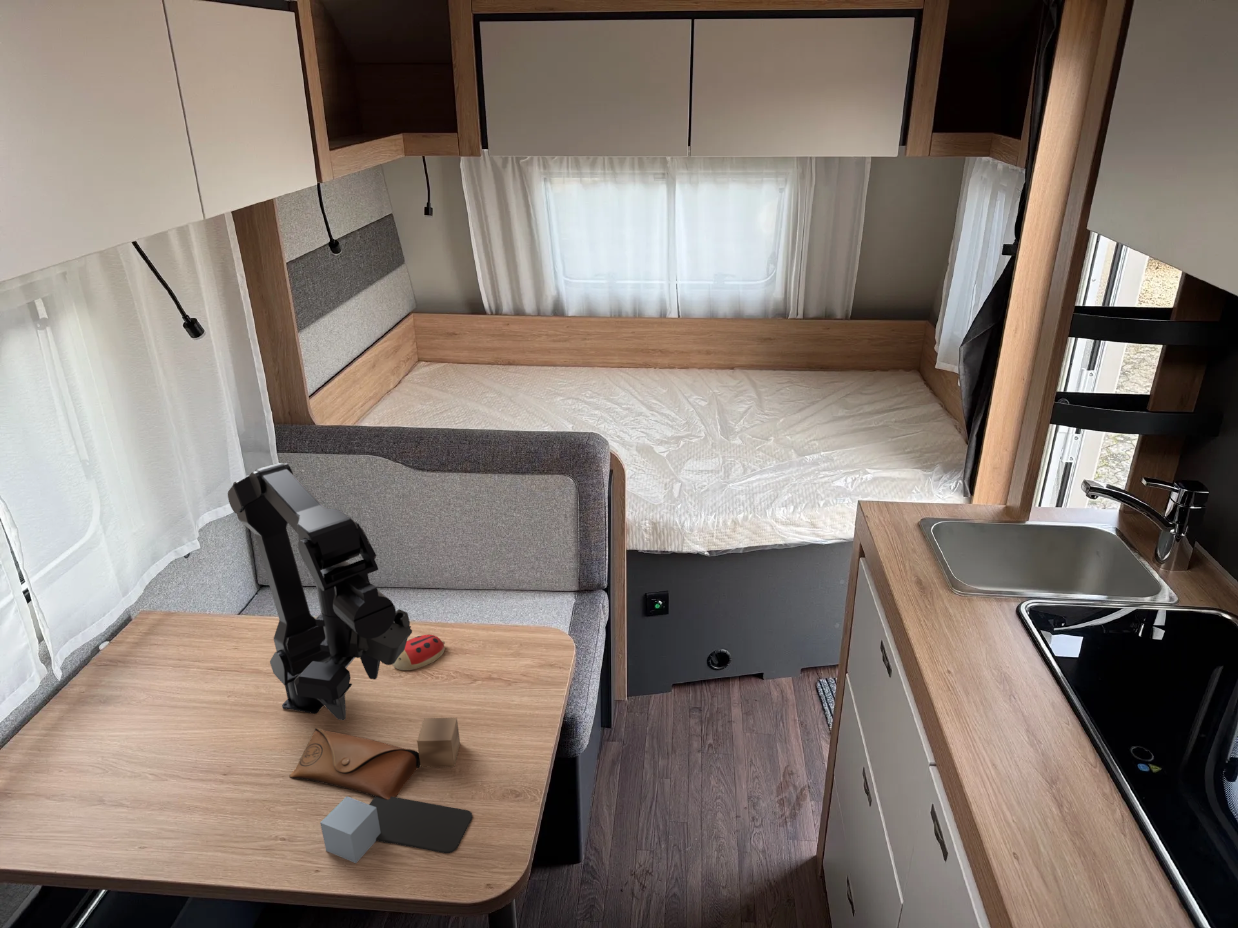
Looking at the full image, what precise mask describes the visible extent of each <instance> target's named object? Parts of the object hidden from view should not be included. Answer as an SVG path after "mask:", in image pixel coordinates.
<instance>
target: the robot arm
mask: <svg viewBox="0 0 1238 928" xmlns="http://www.w3.org/2000/svg"><path fill="white" fill-rule="evenodd" d="M227 499H228V503H229V506H230V507H231V510H232V512H233V513H234V514H236V516H237V519H238V521H239V522H240V523H242V524H243V525H244V526H245V527H246V528H248V529H249V530H250V531H251V532H252V533H253V534H254V536H255V540H256V544H257V547H258V551H259V553H260V557H261V560H262V561H261V562H262V564H263V567H264V571H265V575H266V578H267V582H268V585H269V587H270V592H271V595H272V599H273V601H274V607H275V610H276V612H277V615H278V624H277V627H276V630H275V633H274V636H273V642H274V646H275V652H274V653H273V655H272V657H271V659H270V661H269V663H270V666H271V670H272V673H273V674H274V675H275V677H276V678H277V679H278V681H280V682H281V683H282V685H283V686H284V688H285V692H286V697H287V699H286V700H285V701H284V702H283V703H282V704H281V707H282V709H283V710H289V711H295V712H300V713H301V712H302V713H308V714H312V715H313V714H314V715H315V714H318V713H319V711H321V709H322V708H323V707H325V708H326V709H327V710H328V711H329V713H331V715H333V716H334V717H335V718H336V719H337V720H339V721H345V720H346V718H347V710H346V709H347V706H346V693H347V692H348V691H349V689H350V688H351V687H352V685H353V683H351V682H350V681H351V673H350V670H349V669H348V667H349V665H350V664H351V663H352V662H353V661H354V660H355V658H358V659H360V662H361V664H362V666H363V669H364V671H365V673H366V675H367V677H368V679H370V680H377V679H378V675H379V671H380V664H381V663H382V664H384V665H386V666H393V664H394V663H395V662H396V660H397V658H398V657H399V656H400V654H401V653H402V652H403V651H404V649H405V646H406V642H407V641H408V638H410V636H411V634H413V629H412V626H411V622H410V619H409V618H410V617H409V614H408V612H406V611H405V610H402V609H397V610H396V606H395V604H394V603H393V602H392V600H391V599H390V598H389V597H387V596H386V595H385V594H383V593H382V592H381V591H380V590H379V589H378V588H377V587H376V586H375V585H374V584H372V583H371V582H370V579H369V574H371V573H374V572H376V571H379V566H378V564H377V561H376V560H375V559H376V558H377V554H376V552H375V550H374V547H373V546H372V543H371V542H370V541H369V538H368V536H367V535H366V533H365V531H364V529H363V528H362V526H361V525H360V524H359V522H357V521H355V520H354V519H353V518H351V517H350V516H349V515H347V513H345V512H343V511H342V510H340V509H335V508H329V507H325V506H324V505H323V504H322V503H321V502H320V501H319V500H318V499H317V498H316V497H315V496H314V495H313V493H311V492H310V491H309V490H308V489H307V488H306V487H305V486H304V485H303V483H301V481H300V480H299V479H298V478H297V477H296V476H295V475H294V472H293V470H292V468H291V466H290V464H289V463H288V462H284V463H283V462H278V463H274V464H271V465H266V466H263V467H260V468H259V467H258V468H256V469H255V470H254V471H252V472H250V473H249V475H248V476H246V477H244V478H243V479H241V480H237V481H234V482H233V484H232V485H231V487H230V488H229V490H228V492H227ZM288 525H289V526H290V527H291V528H292V530H294V532H296V534H297V537H298V542H297V547H298V552H299V554H300V556H301V560H302V561H303V563H304V564H305V566H306V568H307V570H308V571H309V573H310V576H311V577H312V579H313V581H314V583H315V587H316V591H317V598H318V603H319V608H320V609H319V610H320V614H319V615H317V617H316V618H315V617H314V616H313V615H312V614H311V611H310V607H309V604H308V601H307V597H306V594H305V590H304V589H305V588H304V585H303V583H302V579H301V575H300V572H299V570H298V569H299V568H298V566H297V565H298V564H297V561H296V558H295V555H294V554H295V553H294V551H293V547H292V543H291V541H290V536H289V533H288V528H287V527H288ZM359 556H361V559H360V560H358V561H354V562H352V563H350V562H348V561H350V560H352V559H355V558H357V557H359Z"/></svg>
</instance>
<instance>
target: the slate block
mask: <svg viewBox="0 0 1238 928" xmlns="http://www.w3.org/2000/svg"><path fill="white" fill-rule="evenodd" d="M369 804H370V803H369ZM369 804H368V803H366V802H363V801H360V800H359V799H355V798H352V797H350V796H345V797H344V798H343V799H342V800H341V801H340V802H339V803H338V804H337V805H336V806H335V807H334V808H333V809H332V810H331V811H330V812H329V813H328V814H327V815H326V816H325V817H324V818H323V819H322V820H321V821H320V822H319V824H320V828H321V833H322V837H323V841H324V842H323V843H324V848H325V852H328V853H330V854H332V855H335V856H337V857H340V858H342V859H345V860H347V861H350V862H352V863H354V864H357V863H358V862H359V860H361V859H362V858H363V856H364V855H365V854H366V853H367V852H368V850H369V849H370V848H371V847H372V846H373V845H374V844H375V843H376V842H377V841H376V838H377V837H378V835H379V834H380V833H381V832H380V826H379V820H378V814H377V809H376V807H374V806H371V805H369Z"/></svg>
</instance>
